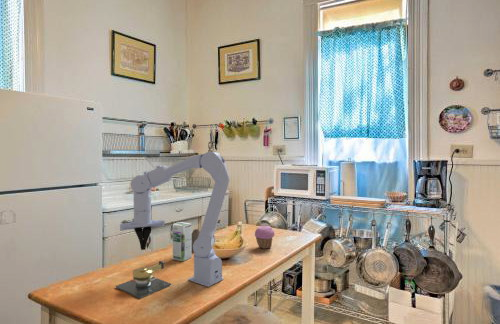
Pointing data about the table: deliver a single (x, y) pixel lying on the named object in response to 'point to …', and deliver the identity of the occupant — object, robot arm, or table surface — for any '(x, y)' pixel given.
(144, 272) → the brass lever handle
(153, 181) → the robot arm
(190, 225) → the syrup box
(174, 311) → the table surface
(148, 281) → the dark grey plate
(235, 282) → the table surface
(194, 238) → the vase
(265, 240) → the cupcake
